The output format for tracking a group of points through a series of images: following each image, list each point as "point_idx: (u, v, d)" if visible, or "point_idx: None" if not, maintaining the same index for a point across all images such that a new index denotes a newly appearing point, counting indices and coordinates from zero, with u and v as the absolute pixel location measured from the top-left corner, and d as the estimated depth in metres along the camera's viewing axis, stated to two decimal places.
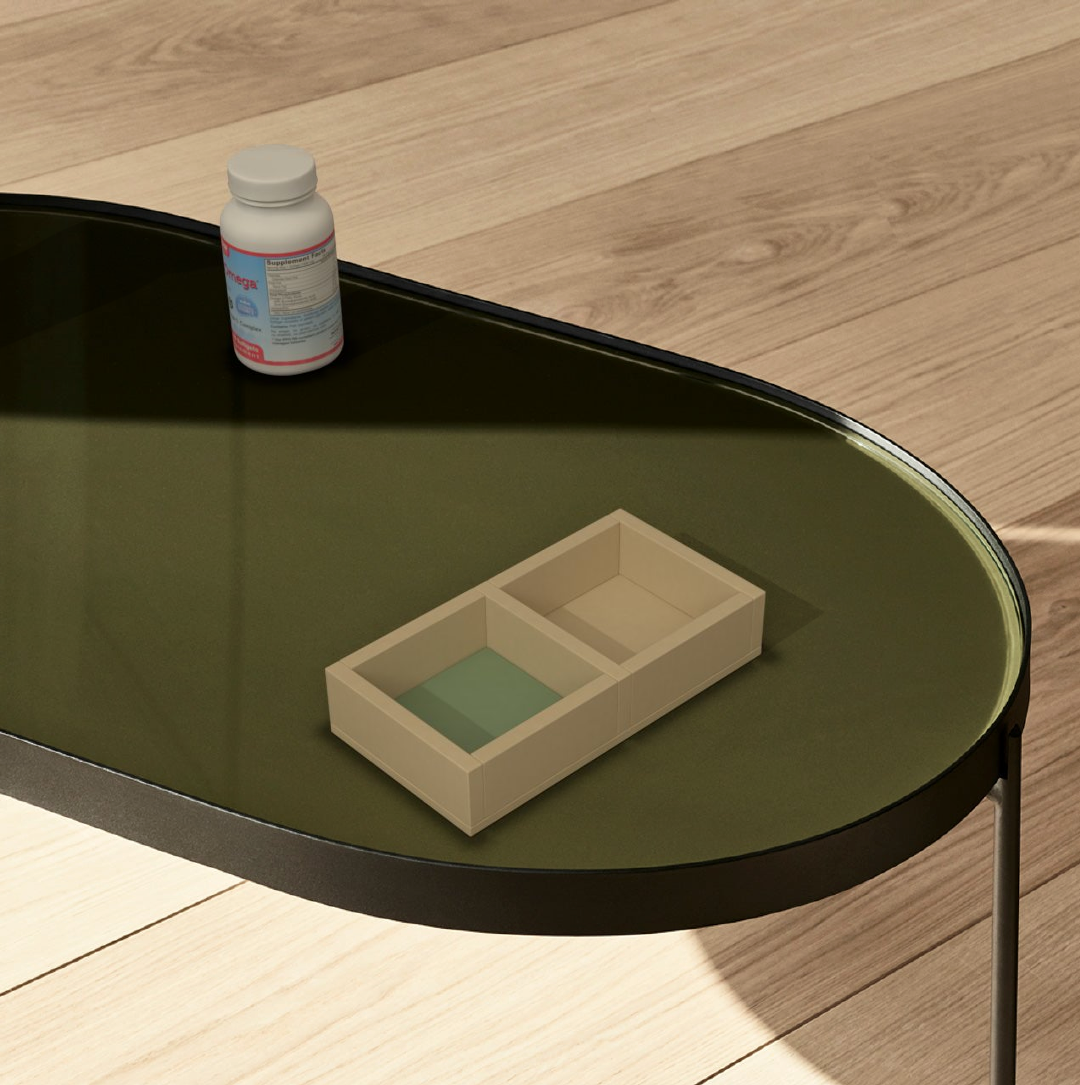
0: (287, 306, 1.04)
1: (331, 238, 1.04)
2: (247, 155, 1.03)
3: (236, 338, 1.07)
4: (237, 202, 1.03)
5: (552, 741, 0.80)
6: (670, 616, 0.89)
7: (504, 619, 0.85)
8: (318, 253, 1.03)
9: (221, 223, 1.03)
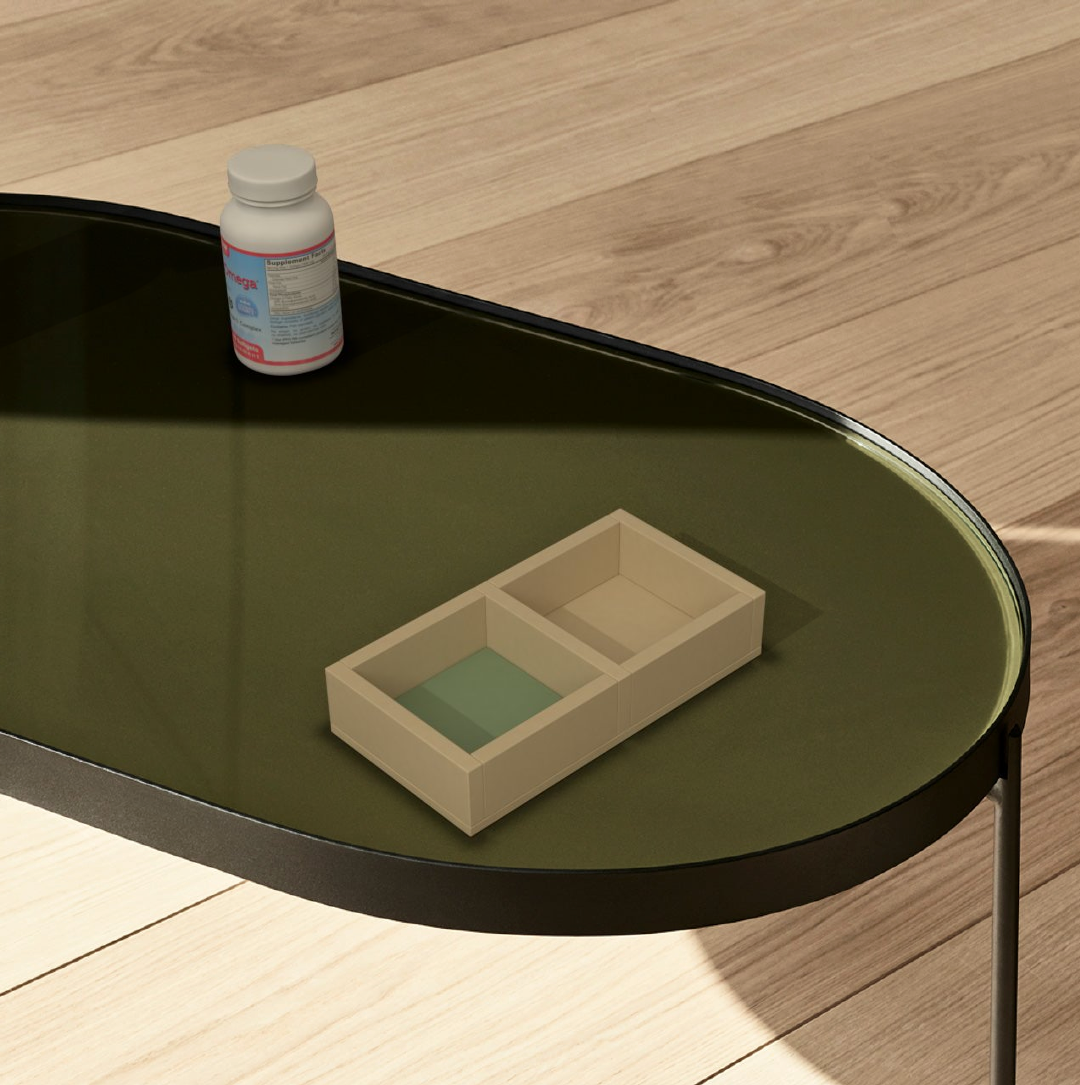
0: (287, 307, 1.04)
1: (331, 238, 1.04)
2: (247, 155, 1.03)
3: (236, 338, 1.07)
4: (237, 202, 1.03)
5: (552, 741, 0.80)
6: (670, 616, 0.89)
7: (504, 619, 0.85)
8: (318, 253, 1.03)
9: (221, 223, 1.03)
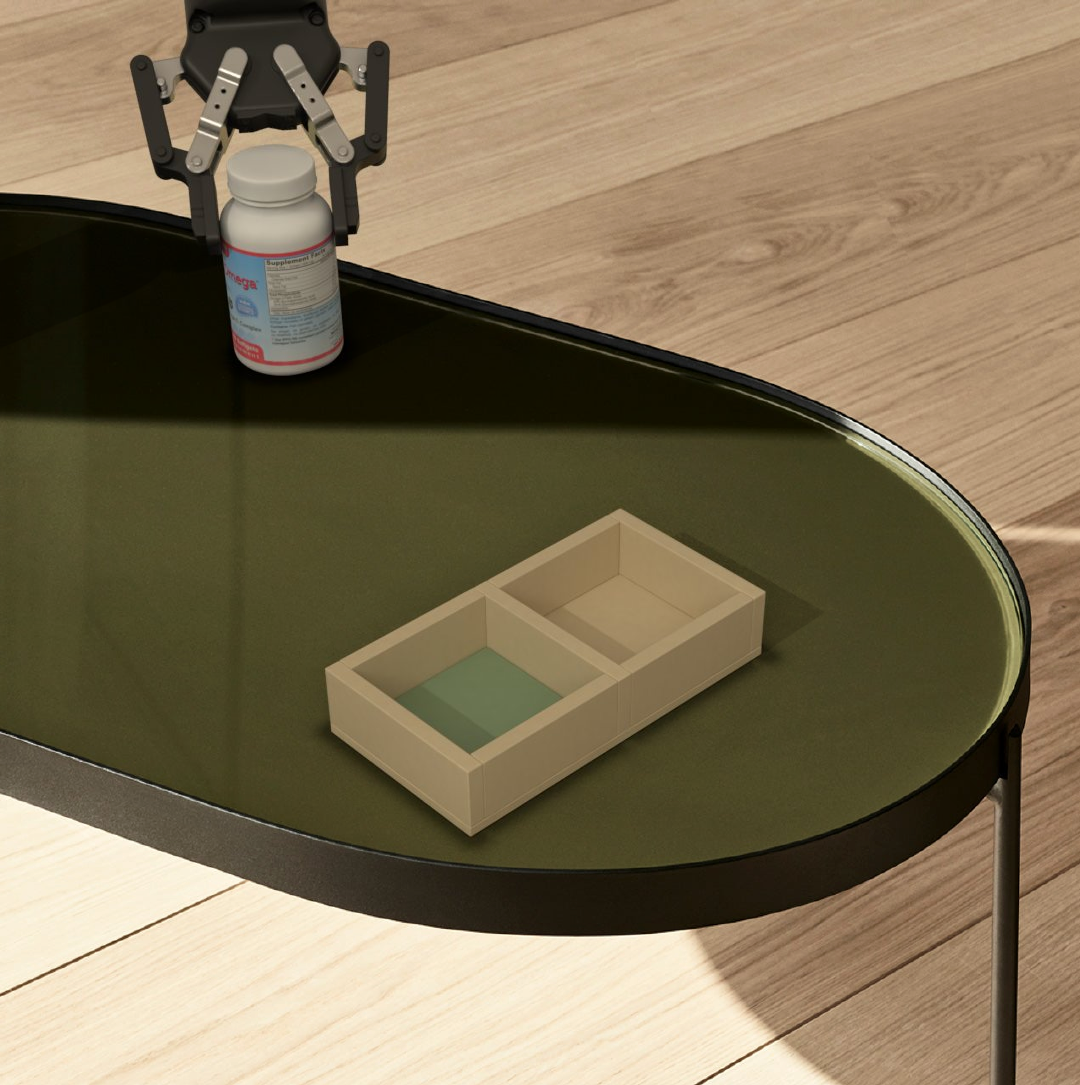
0: (287, 307, 1.04)
1: (330, 238, 1.04)
2: (246, 155, 1.03)
3: (236, 338, 1.07)
4: (237, 202, 1.03)
5: (552, 741, 0.80)
6: (670, 616, 0.89)
7: (504, 619, 0.85)
8: (317, 253, 1.03)
9: (220, 223, 1.03)
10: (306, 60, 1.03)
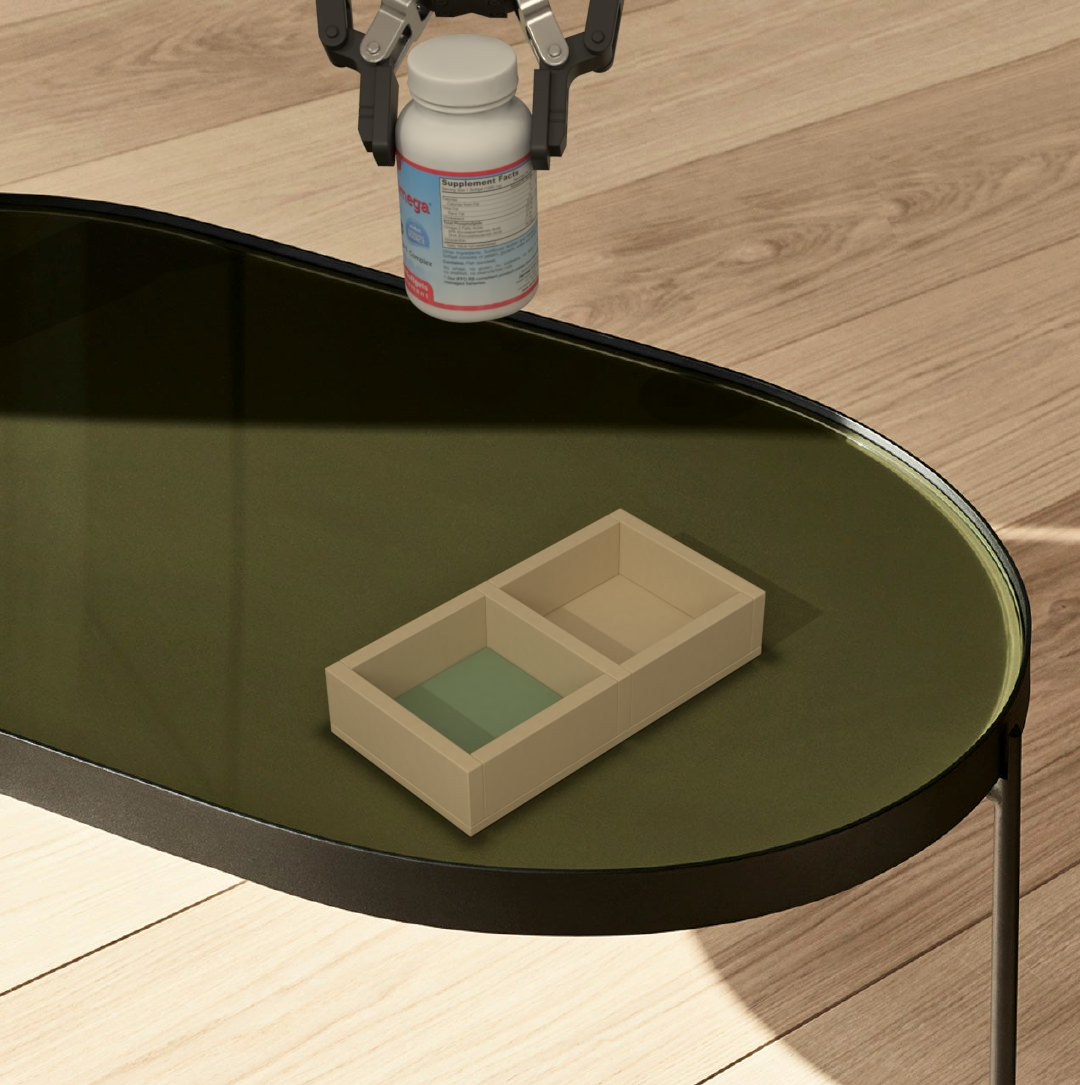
0: (465, 239, 0.84)
1: (528, 159, 0.83)
2: (436, 44, 0.82)
3: (405, 270, 0.87)
4: (416, 103, 0.82)
5: (552, 741, 0.80)
6: (670, 616, 0.89)
7: (504, 619, 0.85)
8: (507, 176, 0.83)
9: (395, 127, 0.83)
10: None
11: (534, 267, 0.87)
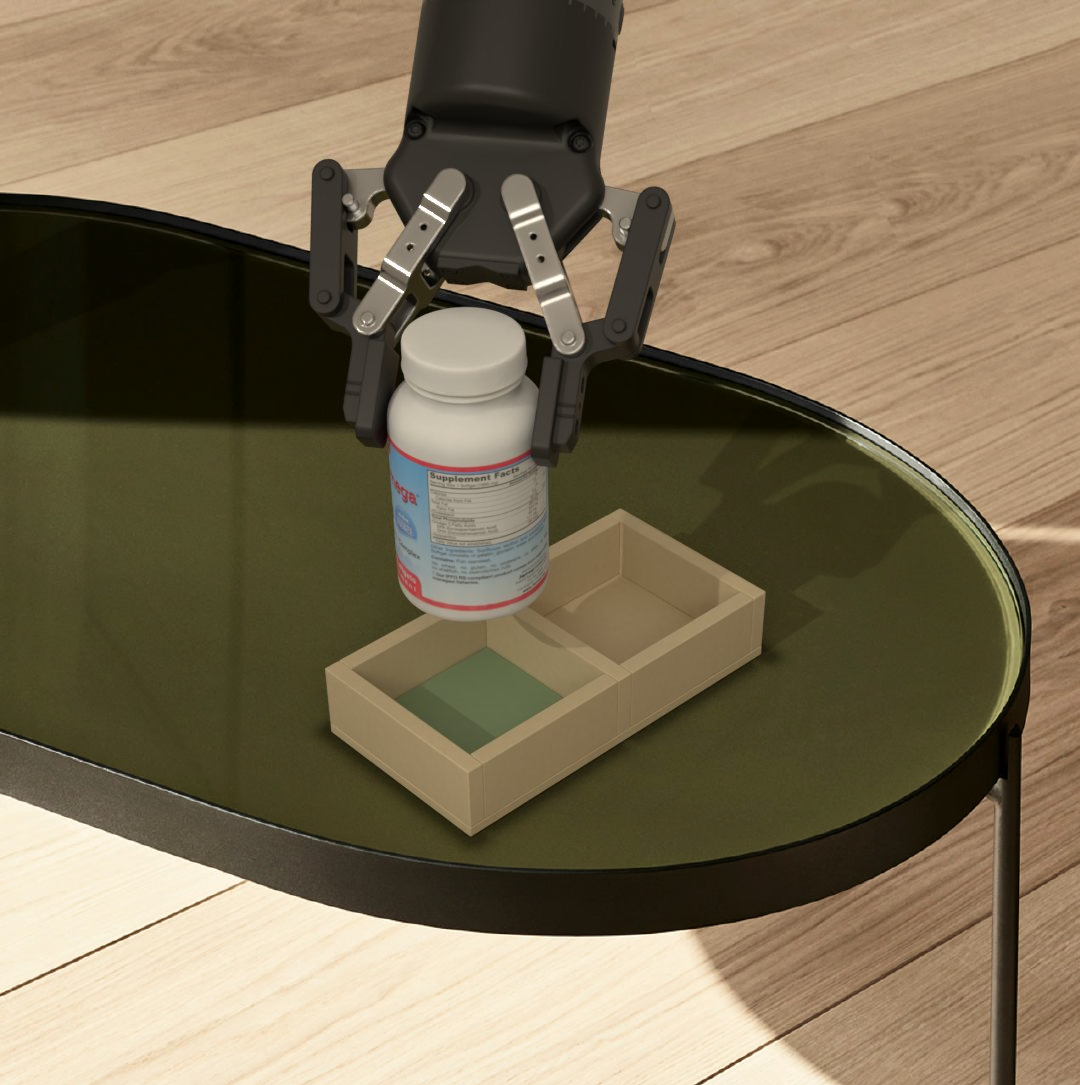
0: (455, 536, 0.74)
1: None
2: (438, 319, 0.73)
3: (396, 556, 0.77)
4: None
5: (552, 741, 0.80)
6: (670, 616, 0.89)
7: (504, 619, 0.85)
8: (505, 473, 0.72)
9: (388, 406, 0.74)
10: (550, 199, 0.72)
11: (540, 565, 0.77)
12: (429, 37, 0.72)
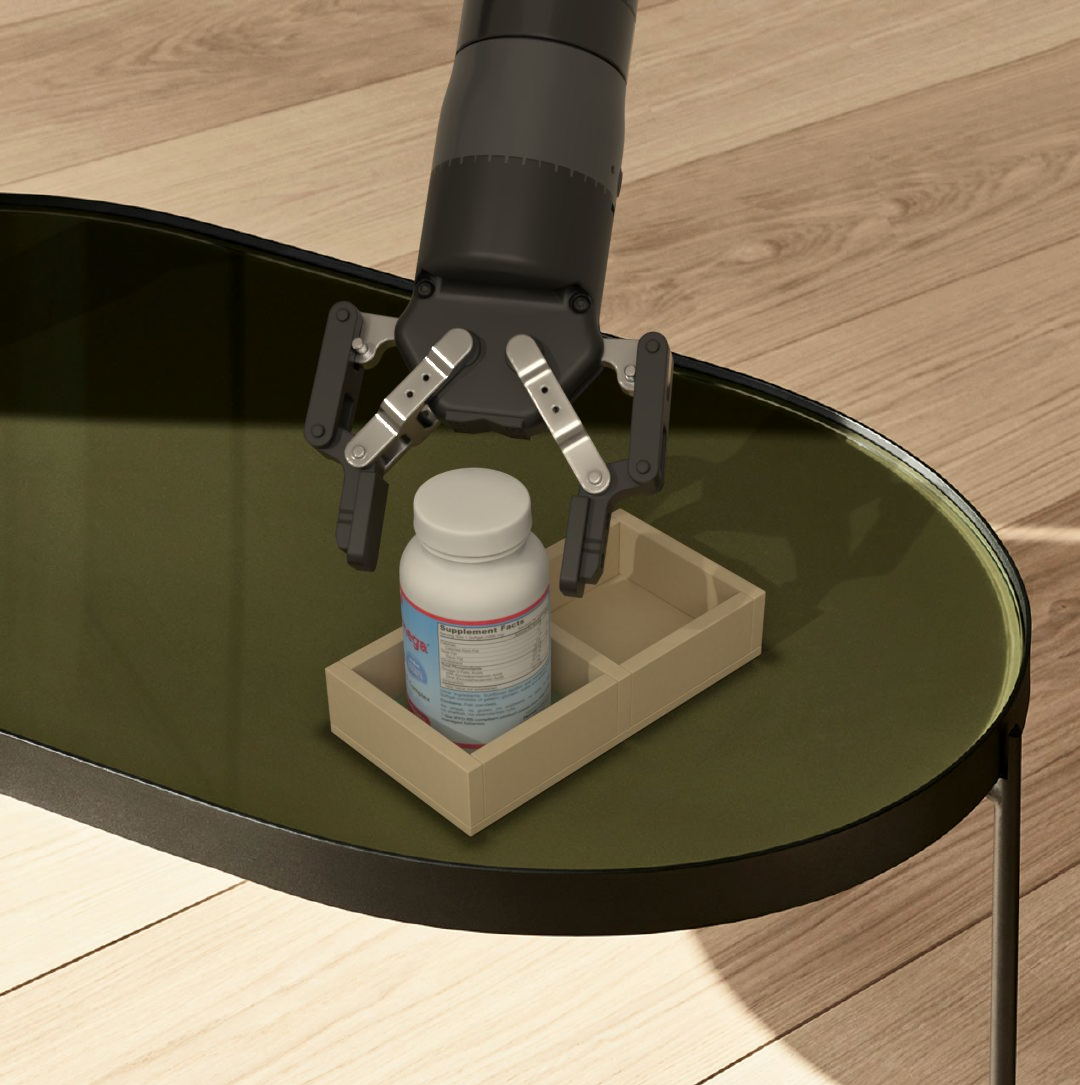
0: (463, 682, 0.78)
1: (536, 606, 0.77)
2: (448, 480, 0.77)
3: (407, 695, 0.82)
4: None
5: (552, 741, 0.80)
6: (670, 616, 0.89)
7: None
8: (511, 626, 0.77)
9: None
10: (555, 361, 0.76)
11: (542, 705, 0.81)
12: (438, 204, 0.76)
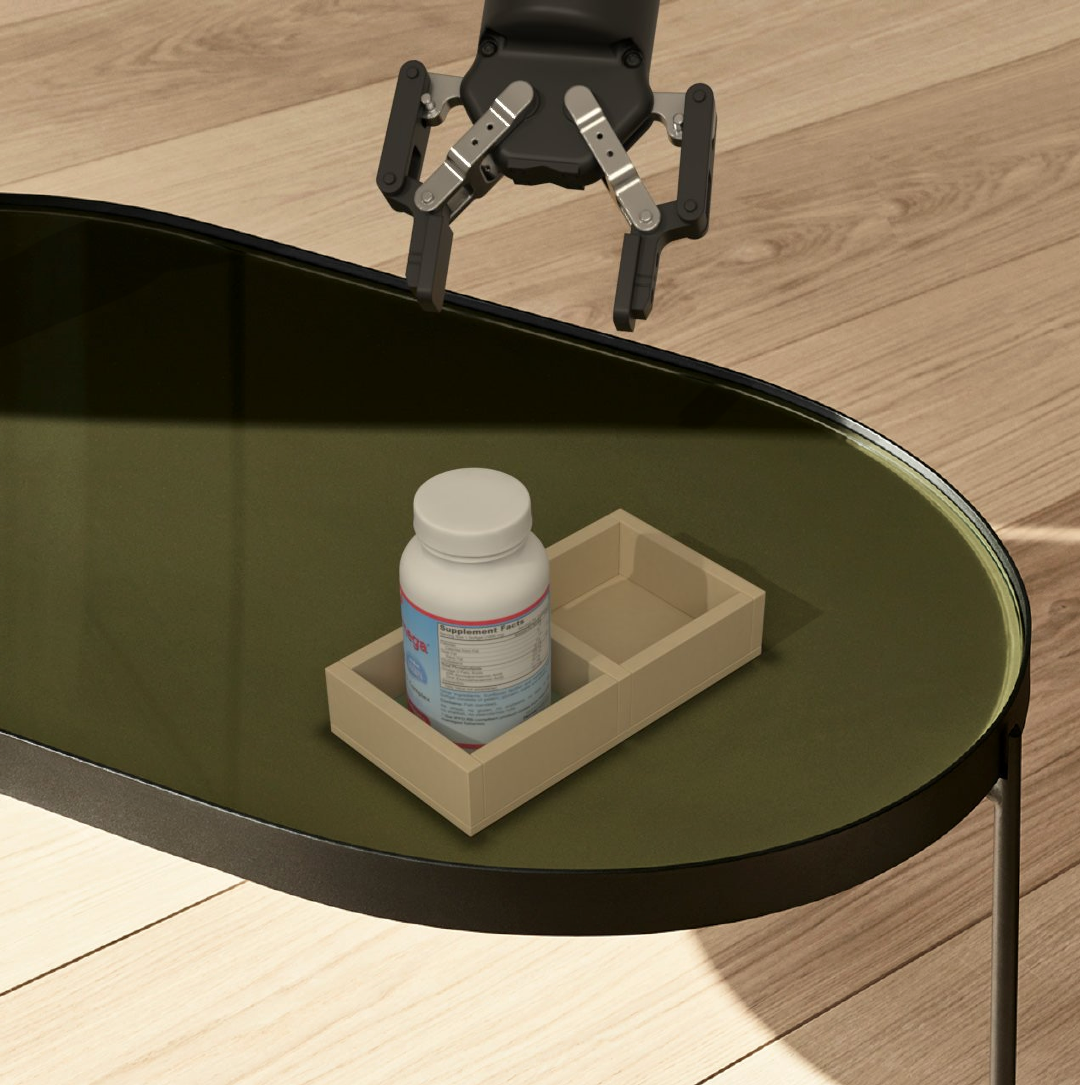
0: (463, 682, 0.78)
1: (536, 606, 0.77)
2: (448, 480, 0.77)
3: (407, 695, 0.82)
4: None
5: (552, 741, 0.80)
6: (670, 616, 0.89)
7: None
8: (511, 626, 0.77)
9: None
10: (609, 111, 0.83)
11: (542, 705, 0.81)
12: None
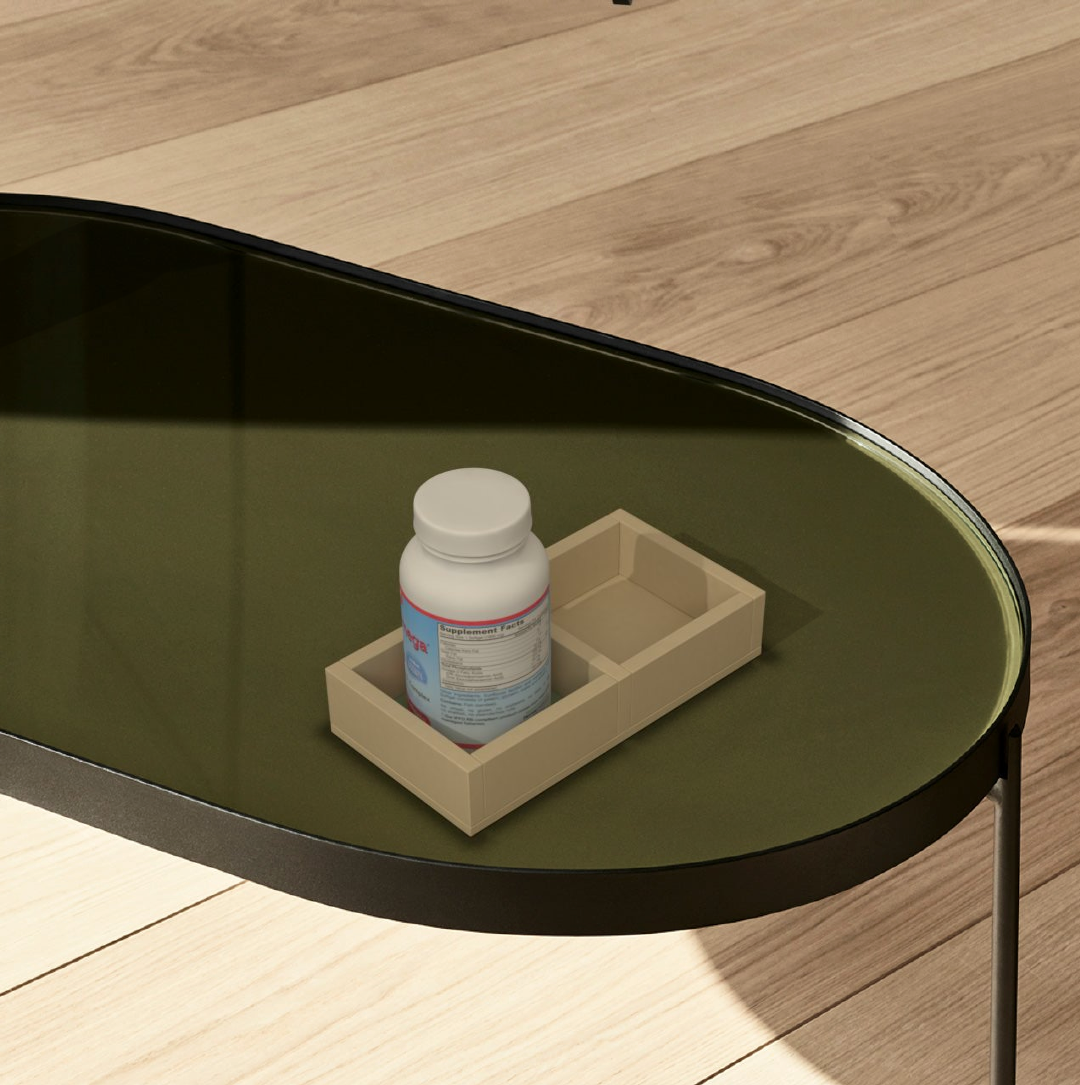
0: (463, 682, 0.78)
1: (536, 606, 0.77)
2: (448, 480, 0.77)
3: (407, 695, 0.82)
4: None
5: (552, 741, 0.80)
6: (670, 616, 0.89)
7: None
8: (511, 626, 0.77)
9: (400, 560, 0.78)
10: None
11: (542, 705, 0.81)
12: None
